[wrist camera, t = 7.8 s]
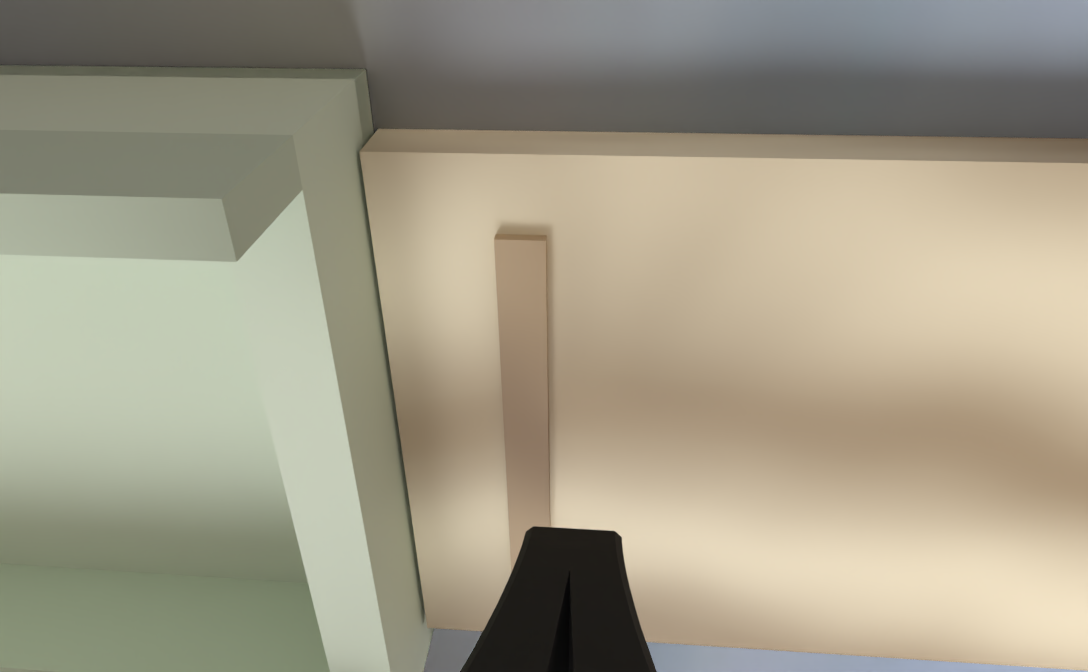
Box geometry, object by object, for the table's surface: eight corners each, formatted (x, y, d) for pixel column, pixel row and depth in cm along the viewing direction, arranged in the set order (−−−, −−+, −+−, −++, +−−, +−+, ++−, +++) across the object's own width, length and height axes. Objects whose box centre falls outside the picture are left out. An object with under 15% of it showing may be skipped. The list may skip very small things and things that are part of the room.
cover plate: (1115, 611, 18) (1160, 683, 16) (441, 571, 19) (425, 635, 18) (1385, 131, 12) (1493, 174, 11) (386, 119, 13) (355, 156, 12)
